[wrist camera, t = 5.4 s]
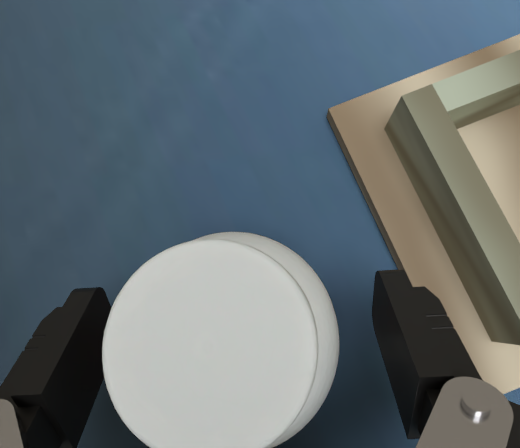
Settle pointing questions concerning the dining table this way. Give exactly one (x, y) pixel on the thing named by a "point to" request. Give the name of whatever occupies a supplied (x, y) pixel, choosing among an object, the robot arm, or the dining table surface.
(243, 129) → the dining table surface
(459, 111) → the holder
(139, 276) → the pill bottle
